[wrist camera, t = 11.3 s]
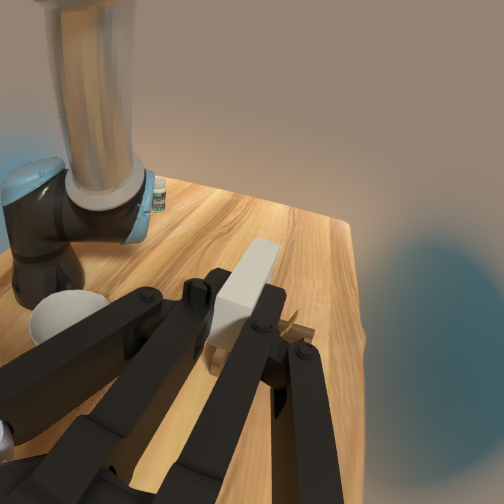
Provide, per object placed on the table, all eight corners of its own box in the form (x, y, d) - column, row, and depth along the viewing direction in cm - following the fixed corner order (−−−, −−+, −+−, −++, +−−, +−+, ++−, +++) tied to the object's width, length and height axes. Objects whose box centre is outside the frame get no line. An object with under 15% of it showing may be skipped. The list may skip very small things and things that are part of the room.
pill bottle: (151, 214, 81) (153, 184, 77) (145, 207, 84) (147, 179, 80) (167, 211, 84) (169, 183, 80) (161, 205, 87) (162, 177, 83)
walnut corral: (293, 401, 40) (303, 381, 37) (210, 374, 42) (212, 352, 39) (305, 351, 49) (314, 329, 46) (234, 328, 51) (238, 305, 48)
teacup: (79, 315, 45) (71, 276, 41) (136, 348, 43) (132, 309, 39) (18, 369, 33) (-1, 331, 29) (75, 418, 30) (57, 383, 26)
